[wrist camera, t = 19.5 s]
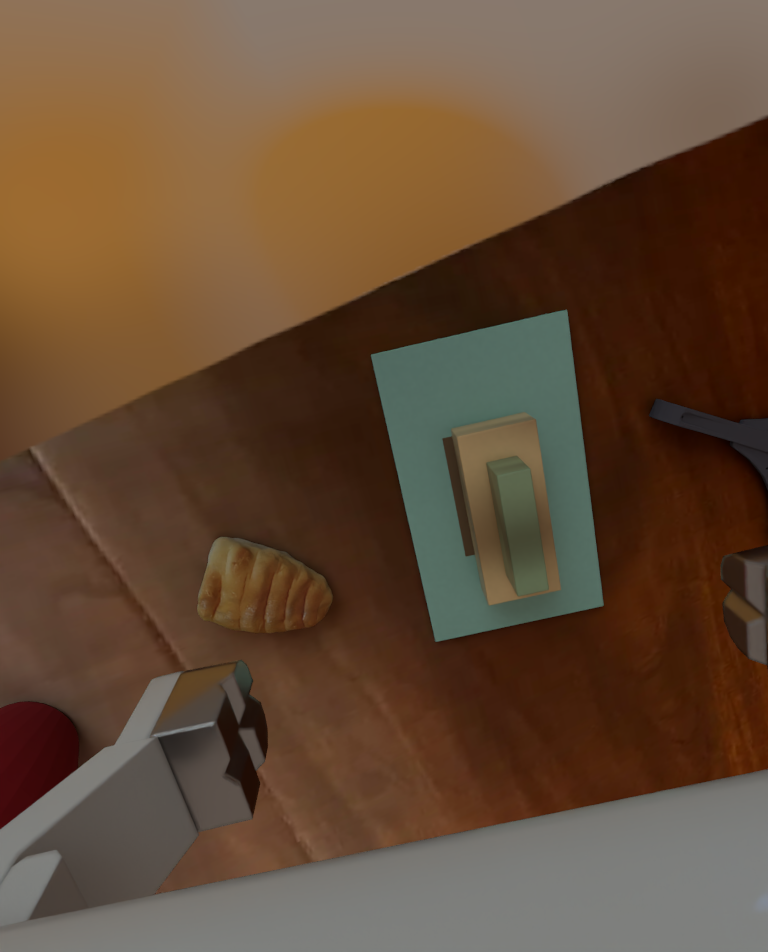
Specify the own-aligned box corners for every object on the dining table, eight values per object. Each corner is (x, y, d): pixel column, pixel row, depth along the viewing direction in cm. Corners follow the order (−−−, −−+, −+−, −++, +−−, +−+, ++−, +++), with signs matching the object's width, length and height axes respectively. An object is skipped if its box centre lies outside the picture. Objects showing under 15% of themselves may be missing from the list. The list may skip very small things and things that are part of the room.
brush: (447, 424, 39) (464, 448, 32) (520, 408, 38) (551, 428, 32) (478, 580, 42) (499, 630, 36) (544, 566, 42) (577, 613, 35)
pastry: (342, 555, 42) (340, 580, 38) (322, 634, 44) (318, 664, 40) (214, 527, 41) (199, 550, 37) (199, 609, 43) (184, 638, 39)
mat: (370, 354, 38) (370, 355, 37) (564, 309, 37) (567, 310, 37) (434, 637, 44) (435, 642, 43) (600, 602, 44) (604, 606, 43)
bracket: (689, 300, 37) (714, 300, 35) (884, 364, 39) (922, 368, 36) (605, 499, 41) (621, 513, 39) (785, 549, 43) (813, 566, 40)
